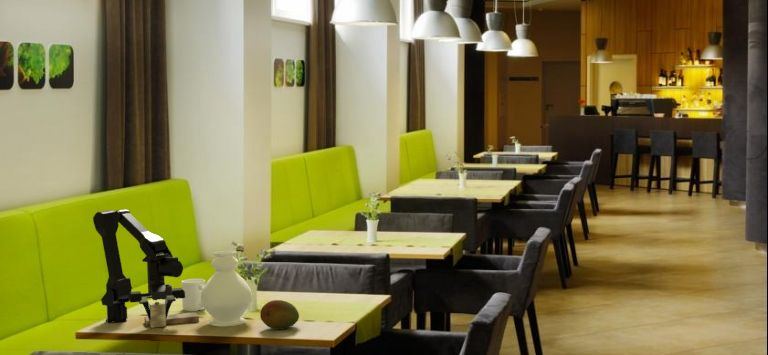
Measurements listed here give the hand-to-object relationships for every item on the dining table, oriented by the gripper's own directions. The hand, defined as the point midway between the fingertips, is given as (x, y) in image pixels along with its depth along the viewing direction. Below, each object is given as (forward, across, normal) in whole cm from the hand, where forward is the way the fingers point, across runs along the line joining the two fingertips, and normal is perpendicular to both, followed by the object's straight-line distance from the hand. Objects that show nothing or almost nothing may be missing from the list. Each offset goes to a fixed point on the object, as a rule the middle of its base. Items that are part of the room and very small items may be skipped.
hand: (157, 319), depth 386 cm
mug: (+3, +18, +23) cm, 29 cm away
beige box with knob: (+2, 0, +3) cm, 4 cm away
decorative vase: (+3, +24, -4) cm, 24 cm away
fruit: (+3, +38, -21) cm, 44 cm away
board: (+2, +6, +5) cm, 8 cm away
